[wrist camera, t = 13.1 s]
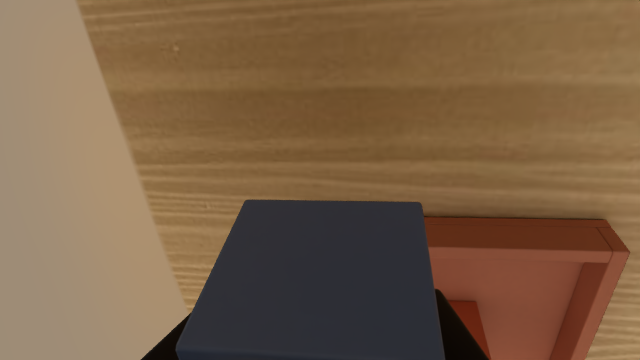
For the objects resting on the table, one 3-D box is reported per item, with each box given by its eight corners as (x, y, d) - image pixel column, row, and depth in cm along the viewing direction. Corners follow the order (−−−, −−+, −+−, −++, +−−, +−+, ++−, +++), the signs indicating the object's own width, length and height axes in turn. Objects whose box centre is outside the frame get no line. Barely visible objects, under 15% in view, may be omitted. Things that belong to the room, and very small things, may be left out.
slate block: (267, 315, 12) (222, 475, 8) (244, 197, 10) (171, 348, 6) (412, 323, 11) (427, 498, 8) (421, 200, 9) (448, 366, 6)
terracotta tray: (314, 385, 26) (309, 417, 24) (292, 214, 19) (283, 243, 17) (540, 401, 24) (552, 438, 22) (606, 219, 17) (631, 252, 15)
